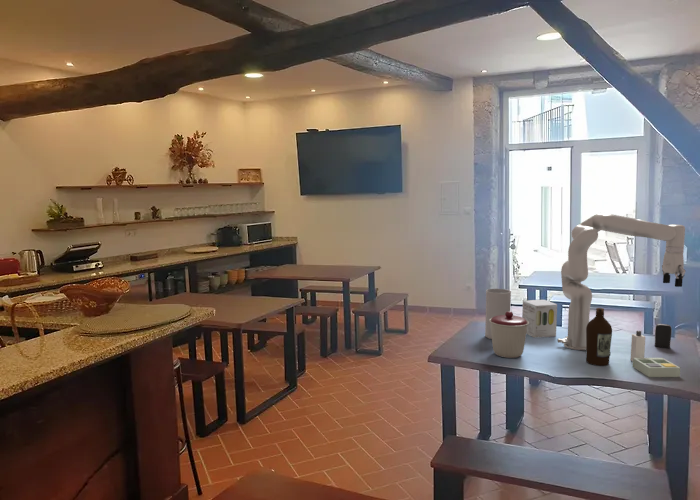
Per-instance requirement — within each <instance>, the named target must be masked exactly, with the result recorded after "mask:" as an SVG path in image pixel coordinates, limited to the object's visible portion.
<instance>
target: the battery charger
mask: <svg viewBox="0 0 700 500" xmlns="http://www.w3.org/2000/svg"><path fill="white" fill-rule="evenodd" d="M672 333H673V331H672V326H671V325H670V324H668V323H667V324H666V323H657V324H656V325H655V329H654V347H658V348H666V349H670V348H671V342H672V340H671V339H672Z"/></svg>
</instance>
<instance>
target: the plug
mask: <svg viewBox="0 0 700 500" xmlns="http://www.w3.org/2000/svg"><path fill="white" fill-rule="evenodd" d="M630 348H631V349H630V361H632V362H633V358H645V351H646V350H645V349H646V335H645V336H644V335H643V334H642V330H636V333H635V334H634V333H633V334H631V344H630Z"/></svg>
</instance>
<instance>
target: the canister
mask: <svg viewBox="0 0 700 500" xmlns="http://www.w3.org/2000/svg"><path fill="white" fill-rule="evenodd" d="M489 322H490V323H491V334H492V339H491V342H492V343H491V344H492V349H493V353H494V354H495V355H497V356H498V357H502V358H506V359H507V358H508V359H515V358H516V359H517V358H519V357H521V356H522V355H523V353H524V350H525V344H526V338H527V334H526V332H527V325H528V324H529V321H527V320H526V319H524V318H522V316H519V315H514V313H513V312H512V311H511V310H510V311H507V312H506V313H505V315H498V316H494V317H493V318H491V319H489Z"/></svg>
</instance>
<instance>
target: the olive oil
mask: <svg viewBox="0 0 700 500" xmlns="http://www.w3.org/2000/svg"><path fill="white" fill-rule="evenodd" d="M612 336H613V329H612V325H611V324H610V323H609V321H608V320H607V319H606V318H605V308H602V307H596V309H595V316H594V317H593V318H591V320H589V323H588V324H587V327H586V350H585V351H586V352H585V354H586V357H585V361H586V363H587V364H589V365H592V366H597V367H598V366H599V367H604V366H605V367H606V366H609V364H610V356H611V346H612Z"/></svg>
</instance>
